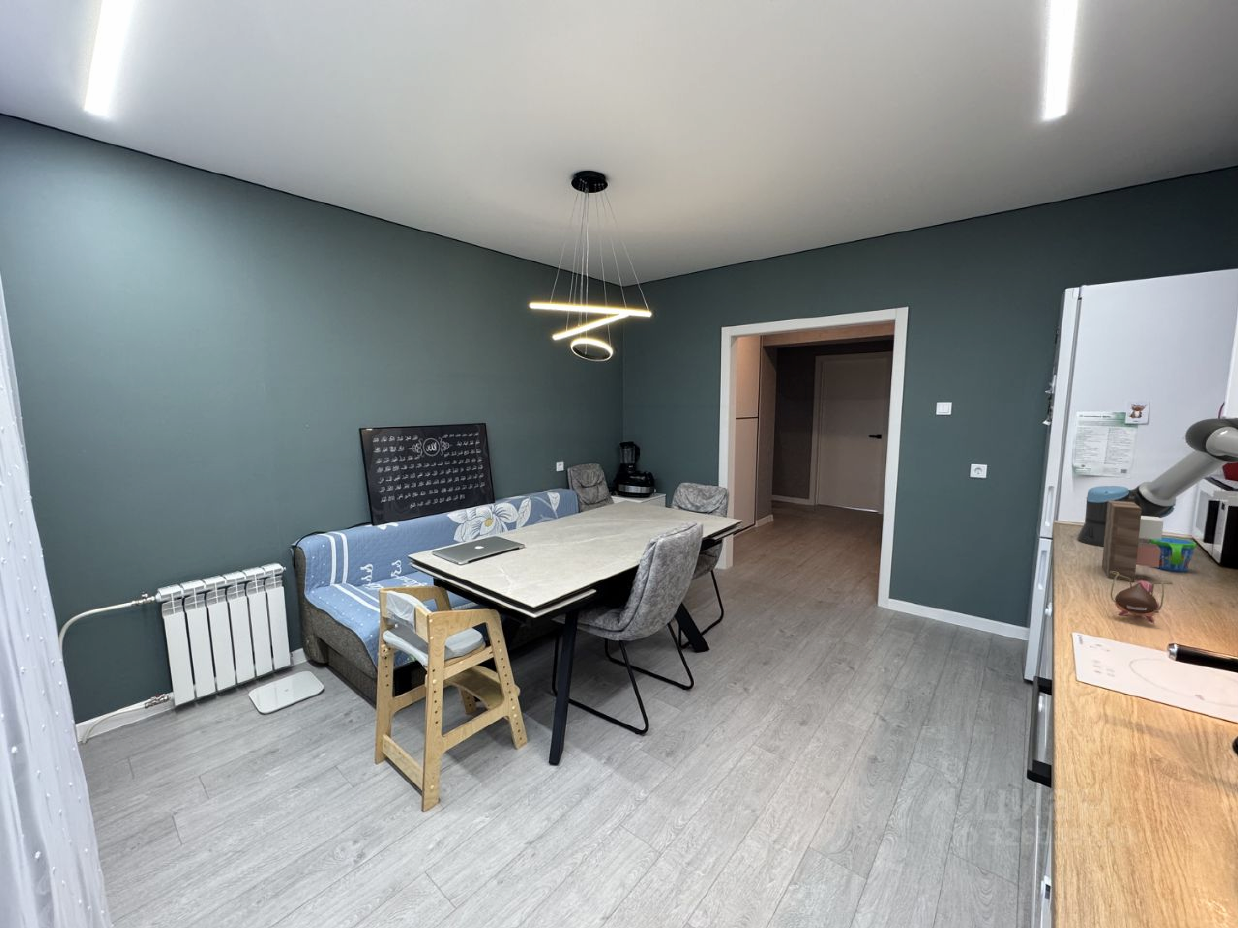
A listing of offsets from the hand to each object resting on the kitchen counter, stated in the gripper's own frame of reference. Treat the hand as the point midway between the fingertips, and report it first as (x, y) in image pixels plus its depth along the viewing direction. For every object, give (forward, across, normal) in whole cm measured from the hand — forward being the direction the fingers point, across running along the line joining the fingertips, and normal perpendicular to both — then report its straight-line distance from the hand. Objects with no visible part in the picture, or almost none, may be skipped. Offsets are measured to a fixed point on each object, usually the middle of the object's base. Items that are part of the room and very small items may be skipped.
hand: (1220, 497), depth 148 cm
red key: (+14, 0, -23) cm, 27 cm away
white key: (+14, 0, -14) cm, 20 cm away
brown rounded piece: (+21, -41, -28) cm, 55 cm away
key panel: (+20, 0, -28) cm, 35 cm away
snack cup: (+5, +18, -28) cm, 34 cm away
